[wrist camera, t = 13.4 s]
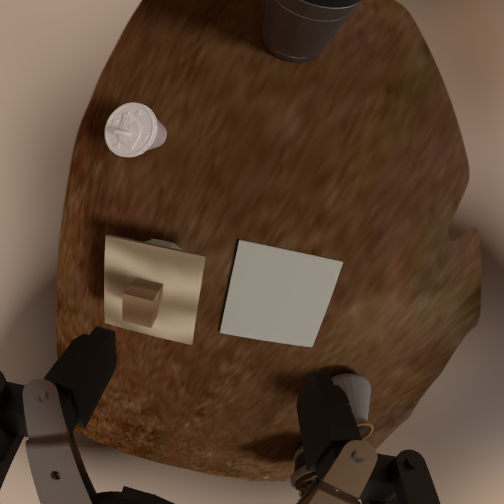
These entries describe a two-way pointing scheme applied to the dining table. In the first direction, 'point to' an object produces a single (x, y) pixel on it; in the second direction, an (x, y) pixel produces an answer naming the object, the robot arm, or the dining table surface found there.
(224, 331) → the tray
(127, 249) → the lid
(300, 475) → the flowerpot
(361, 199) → the dining table surface
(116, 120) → the smoothie
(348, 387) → the coffee pot
